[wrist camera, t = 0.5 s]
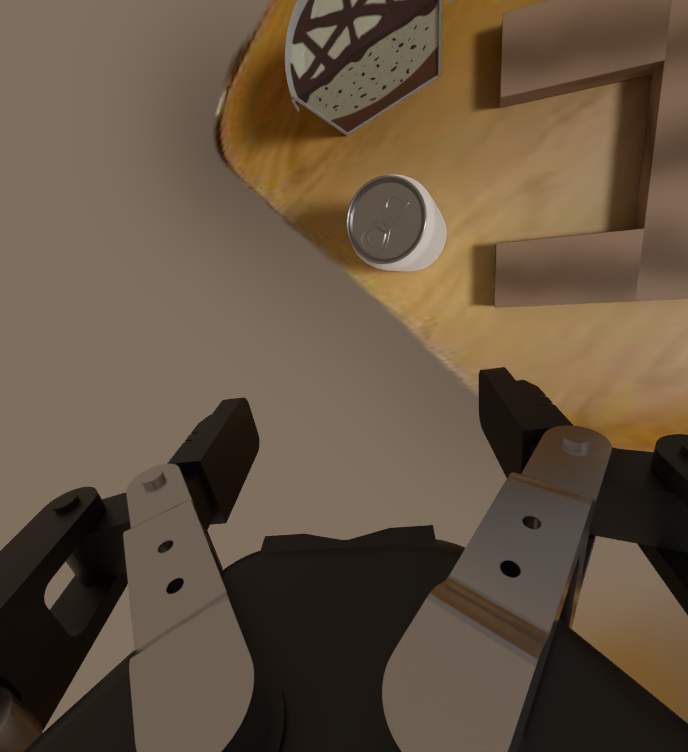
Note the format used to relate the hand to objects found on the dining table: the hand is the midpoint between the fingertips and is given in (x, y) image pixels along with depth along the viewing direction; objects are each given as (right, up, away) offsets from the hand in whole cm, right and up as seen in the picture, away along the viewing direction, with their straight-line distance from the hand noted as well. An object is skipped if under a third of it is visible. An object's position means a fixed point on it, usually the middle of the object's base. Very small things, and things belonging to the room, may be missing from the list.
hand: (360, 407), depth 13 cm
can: (+6, +15, +23) cm, 28 cm away
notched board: (+20, +18, +17) cm, 32 cm away
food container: (+3, +29, +21) cm, 35 cm away
